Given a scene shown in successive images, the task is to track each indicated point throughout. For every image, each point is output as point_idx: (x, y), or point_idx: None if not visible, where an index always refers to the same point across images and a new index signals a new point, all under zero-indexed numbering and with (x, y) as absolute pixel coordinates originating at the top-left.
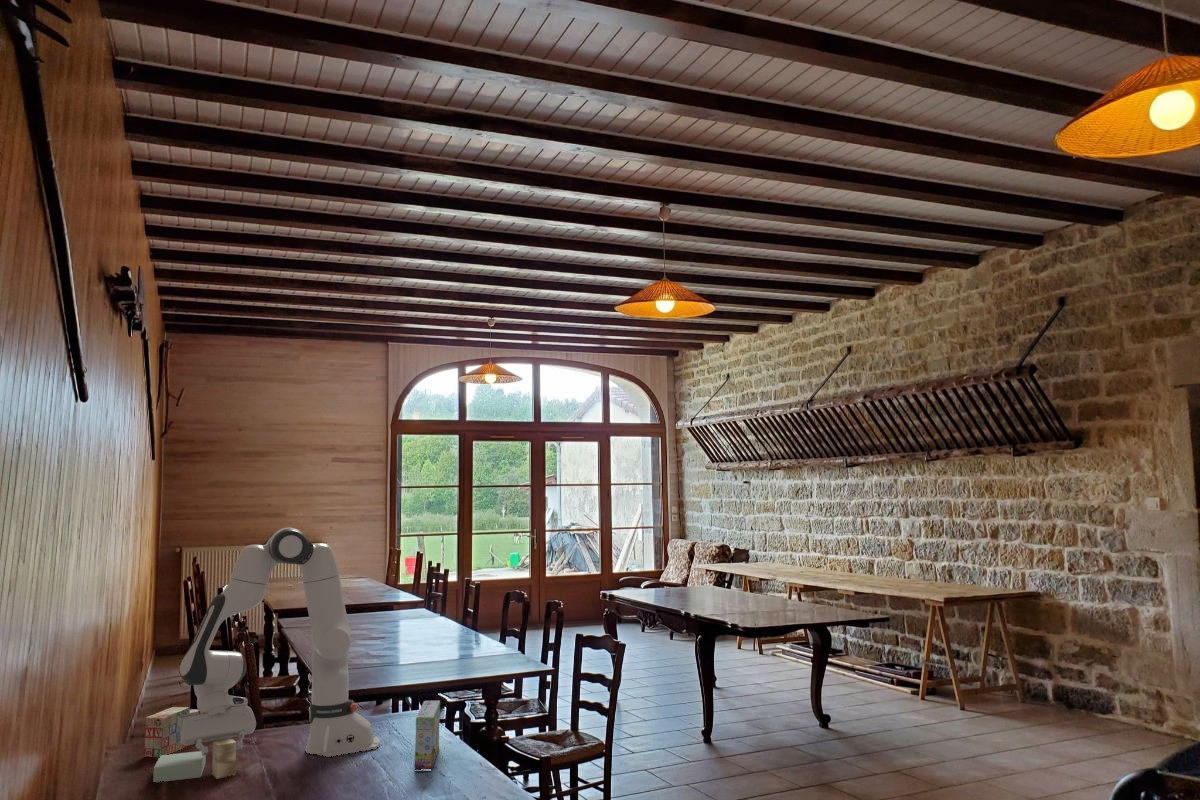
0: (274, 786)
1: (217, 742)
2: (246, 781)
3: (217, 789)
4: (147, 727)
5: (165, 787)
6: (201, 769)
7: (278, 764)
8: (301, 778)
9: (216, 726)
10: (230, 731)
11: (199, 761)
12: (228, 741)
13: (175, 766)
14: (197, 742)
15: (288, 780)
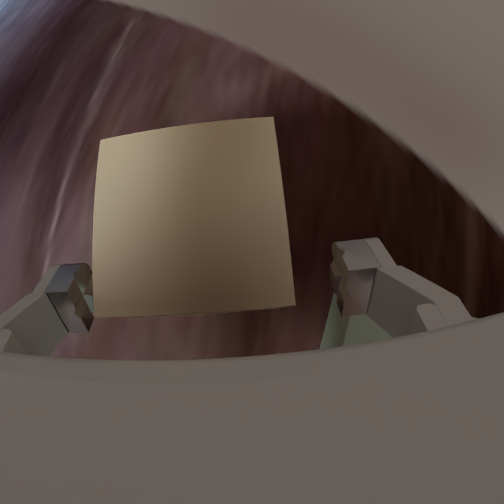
0: (119, 30)
1: (255, 240)
2: (163, 104)
3: (285, 77)
4: None
5: (468, 236)
6: (332, 327)
7: (4, 258)
8: (38, 67)
9: (231, 477)
10: (61, 358)
11: (362, 319)
12: (146, 206)
13: (474, 319)
14: (456, 297)
15: (66, 62)
